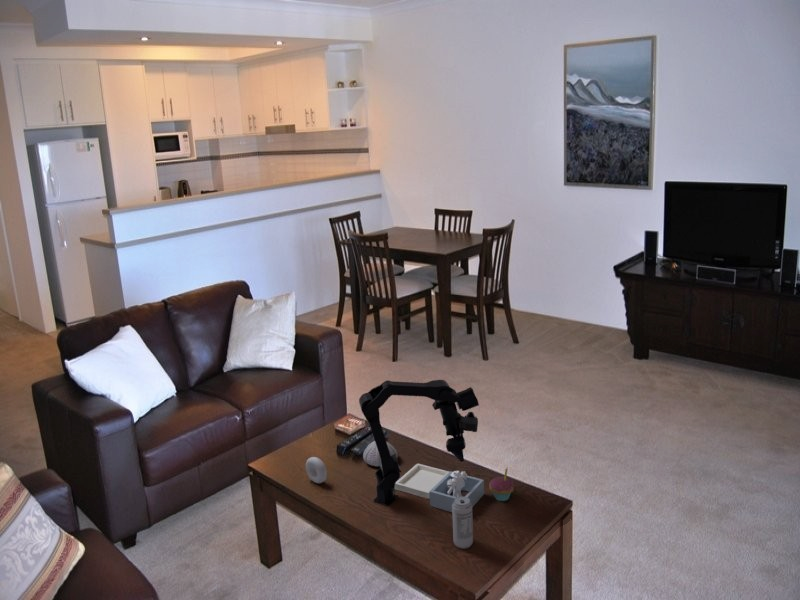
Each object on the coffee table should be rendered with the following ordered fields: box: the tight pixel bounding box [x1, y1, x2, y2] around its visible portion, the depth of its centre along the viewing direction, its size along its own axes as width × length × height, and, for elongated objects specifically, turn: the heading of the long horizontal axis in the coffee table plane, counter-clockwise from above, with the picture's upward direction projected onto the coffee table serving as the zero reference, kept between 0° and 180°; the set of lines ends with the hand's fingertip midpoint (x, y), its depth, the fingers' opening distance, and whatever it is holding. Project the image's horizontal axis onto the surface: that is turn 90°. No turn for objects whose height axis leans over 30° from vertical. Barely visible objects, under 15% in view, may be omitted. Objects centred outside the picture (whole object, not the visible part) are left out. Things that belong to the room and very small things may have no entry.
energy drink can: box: [451, 495, 474, 550], centre depth 208 cm, size 6×6×15 cm
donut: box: [305, 456, 328, 484], centre depth 249 cm, size 10×4×10 cm, turn 48°
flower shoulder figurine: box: [446, 470, 468, 497], centre depth 233 cm, size 9×4×12 cm, turn 136°
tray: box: [395, 463, 450, 500], centre depth 246 cm, size 16×14×2 cm
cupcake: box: [488, 466, 515, 502], centre depth 233 cm, size 9×8×12 cm
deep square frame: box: [429, 470, 485, 513], centre depth 233 cm, size 15×13×6 cm
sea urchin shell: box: [362, 440, 398, 467], centre depth 263 cm, size 13×14×8 cm
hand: (462, 453), depth 238 cm, fingers open, 9 cm apart
